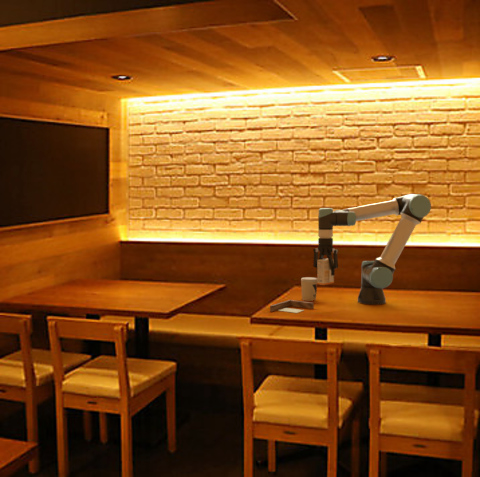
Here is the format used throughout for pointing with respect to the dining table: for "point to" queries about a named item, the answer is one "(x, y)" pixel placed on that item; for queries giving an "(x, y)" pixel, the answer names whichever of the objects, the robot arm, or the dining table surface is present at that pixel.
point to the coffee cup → (309, 288)
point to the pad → (290, 310)
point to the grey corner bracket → (291, 303)
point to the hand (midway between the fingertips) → (325, 281)
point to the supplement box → (323, 272)
